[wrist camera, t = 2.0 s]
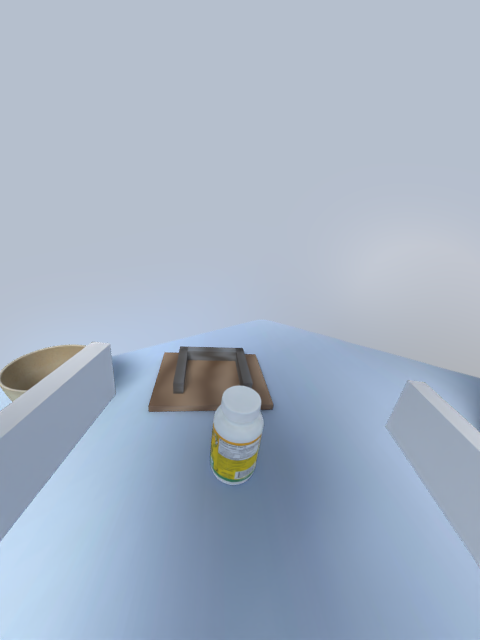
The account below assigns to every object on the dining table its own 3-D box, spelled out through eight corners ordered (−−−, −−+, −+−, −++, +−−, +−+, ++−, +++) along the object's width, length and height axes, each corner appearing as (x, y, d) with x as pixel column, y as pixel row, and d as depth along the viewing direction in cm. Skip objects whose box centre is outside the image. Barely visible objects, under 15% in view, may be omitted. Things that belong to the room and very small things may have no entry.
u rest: (254, 358, 48) (256, 346, 47) (272, 409, 35) (275, 394, 34) (164, 356, 45) (164, 343, 44) (148, 411, 32) (147, 394, 31)
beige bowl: (117, 413, 31) (111, 370, 29) (17, 456, 25) (-3, 405, 22) (96, 375, 38) (90, 337, 35) (12, 402, 31) (-4, 357, 28)
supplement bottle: (248, 495, 24) (261, 427, 20) (201, 475, 25) (205, 408, 21) (259, 451, 29) (272, 389, 25) (220, 436, 30) (226, 376, 26)
